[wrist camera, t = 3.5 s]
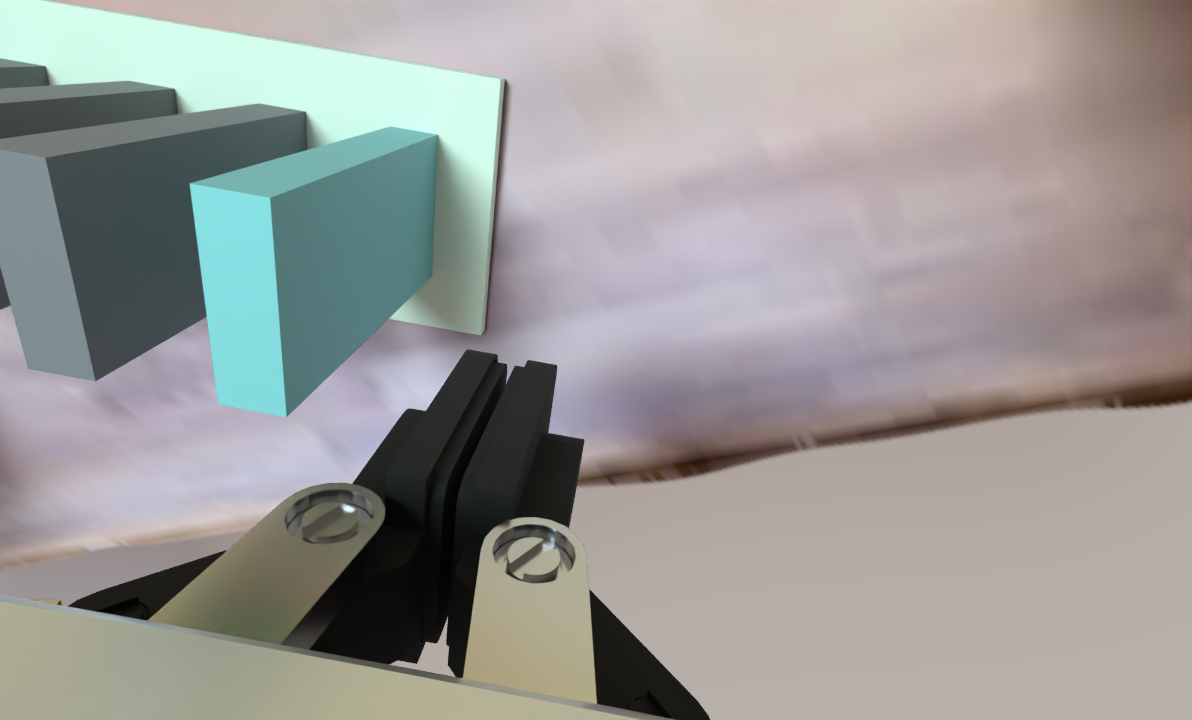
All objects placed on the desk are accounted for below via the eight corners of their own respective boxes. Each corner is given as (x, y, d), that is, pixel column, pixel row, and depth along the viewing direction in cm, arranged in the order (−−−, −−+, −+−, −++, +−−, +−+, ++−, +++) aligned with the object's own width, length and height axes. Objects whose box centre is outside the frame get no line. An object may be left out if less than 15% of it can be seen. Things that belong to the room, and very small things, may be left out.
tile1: (437, 134, 21) (270, 197, 12) (432, 276, 24) (286, 417, 15) (390, 126, 21) (189, 183, 12) (389, 268, 24) (218, 404, 15)
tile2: (305, 111, 22) (44, 157, 13) (312, 255, 24) (94, 381, 15) (259, 103, 22) (-34, 143, 13) (270, 247, 24) (28, 368, 15)
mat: (504, 78, 21) (500, 79, 20) (484, 329, 25) (480, 335, 24) (-312, -62, 22) (-337, -65, 21) (-205, 203, 26) (-223, 207, 25)
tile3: (174, 88, 22) (-176, 118, 13) (193, 233, 24) (-92, 346, 15) (128, 80, 22) (-254, 104, 13) (151, 226, 24) (-159, 333, 15)
